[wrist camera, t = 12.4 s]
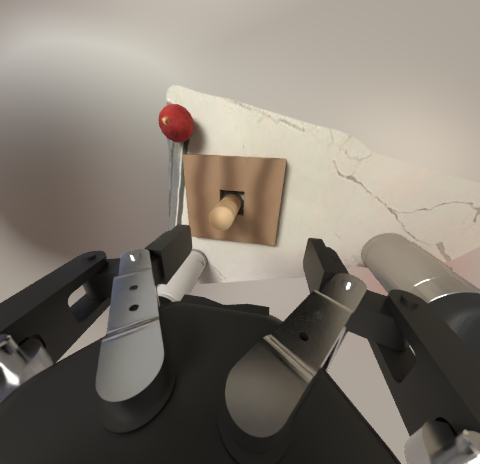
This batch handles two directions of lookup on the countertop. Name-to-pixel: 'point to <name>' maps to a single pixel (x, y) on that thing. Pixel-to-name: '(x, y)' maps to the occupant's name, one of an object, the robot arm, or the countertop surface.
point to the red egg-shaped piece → (176, 123)
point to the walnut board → (235, 179)
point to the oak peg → (225, 211)
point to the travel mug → (183, 278)
